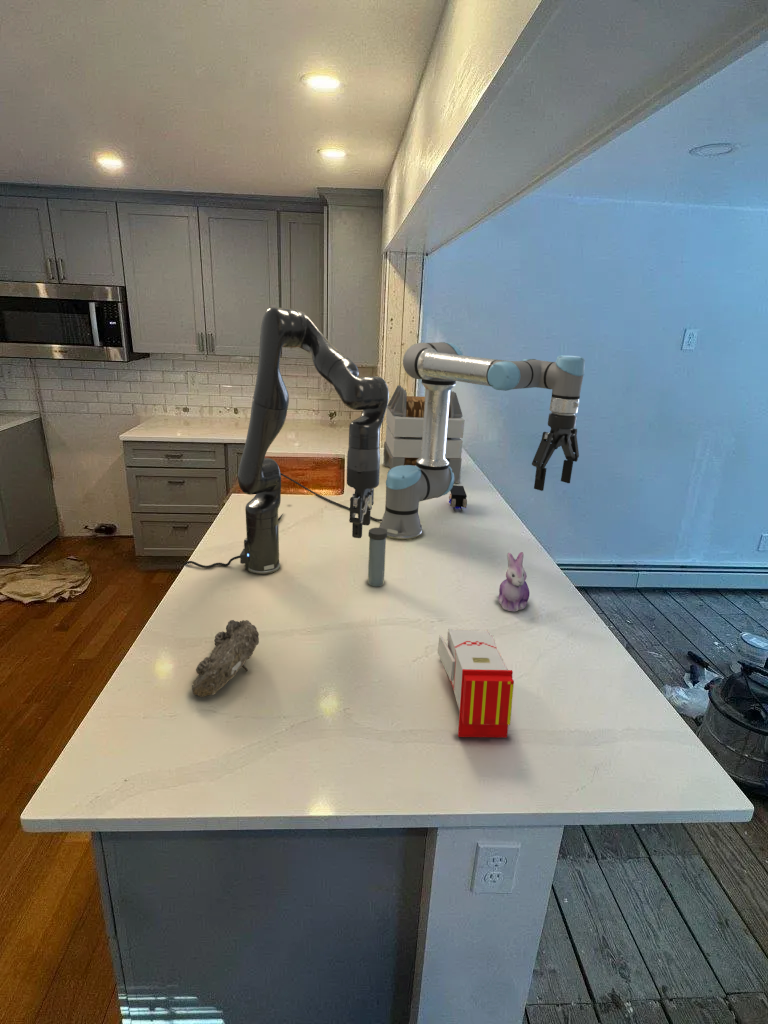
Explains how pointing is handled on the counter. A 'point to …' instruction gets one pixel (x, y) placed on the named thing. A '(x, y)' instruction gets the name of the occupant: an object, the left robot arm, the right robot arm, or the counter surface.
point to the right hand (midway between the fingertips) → (552, 485)
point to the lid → (377, 533)
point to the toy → (478, 682)
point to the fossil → (226, 657)
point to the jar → (376, 562)
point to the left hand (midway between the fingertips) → (361, 530)
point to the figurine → (514, 585)
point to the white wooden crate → (419, 431)
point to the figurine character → (458, 497)
